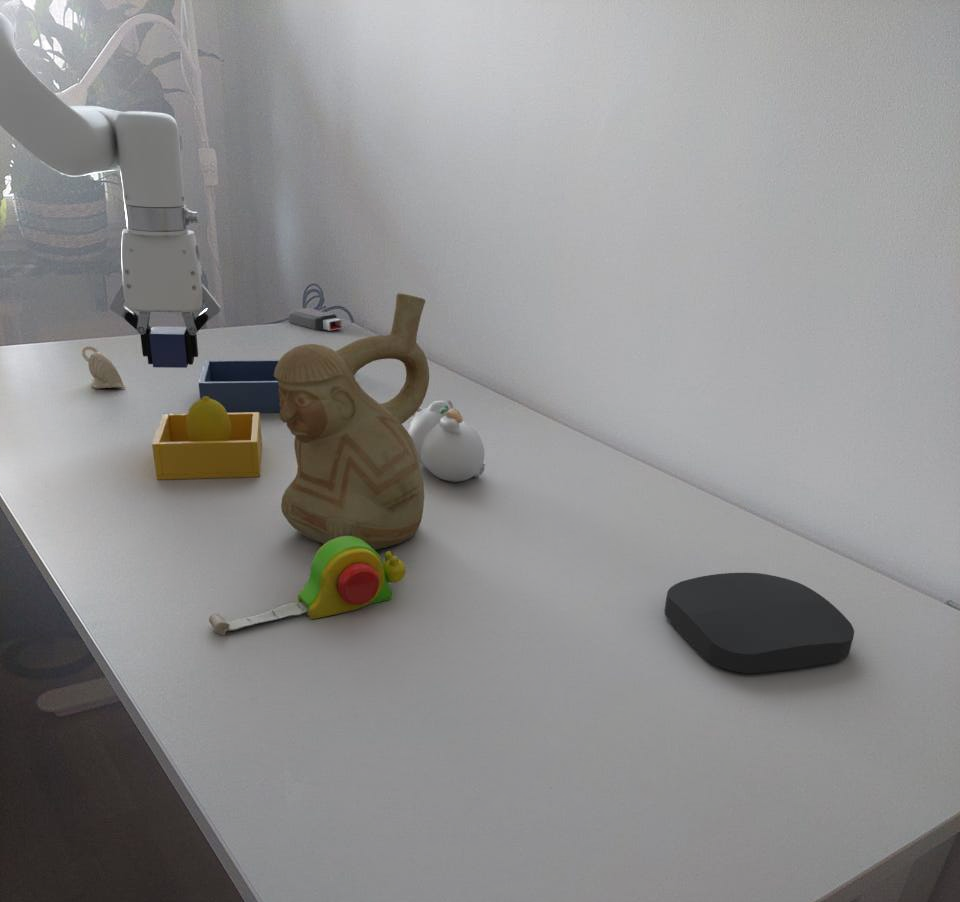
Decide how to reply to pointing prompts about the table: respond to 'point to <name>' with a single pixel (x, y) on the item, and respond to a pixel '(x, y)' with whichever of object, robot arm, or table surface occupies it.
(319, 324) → the usb drive
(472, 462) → the cat figurine
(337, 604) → the toy measuring tape
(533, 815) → the table surface
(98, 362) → the decorative ornament
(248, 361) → the blue bin
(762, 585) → the media streaming box
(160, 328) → the navy block
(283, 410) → the ceramic vessel
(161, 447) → the yellow bin
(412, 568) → the table surface
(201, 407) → the lemon
